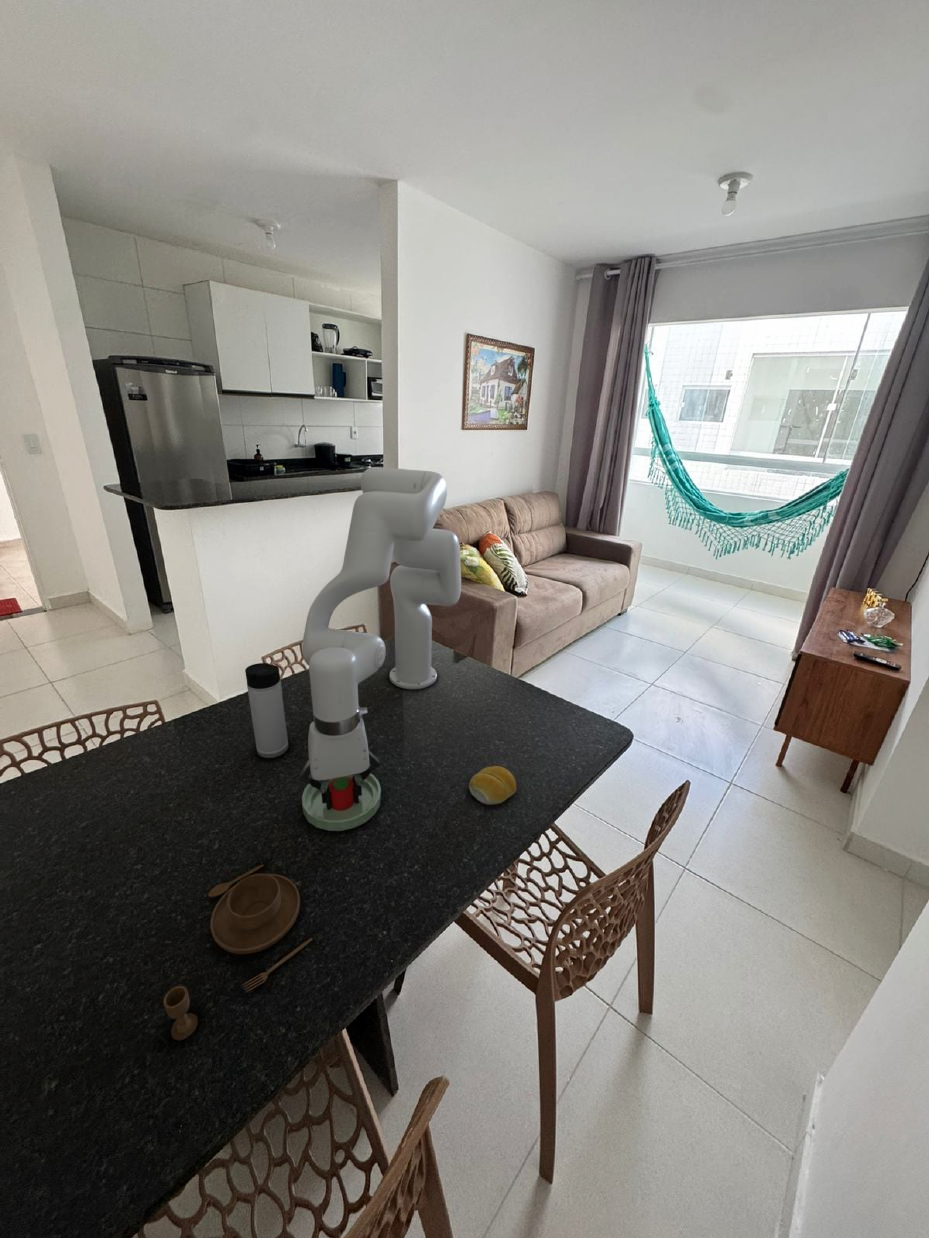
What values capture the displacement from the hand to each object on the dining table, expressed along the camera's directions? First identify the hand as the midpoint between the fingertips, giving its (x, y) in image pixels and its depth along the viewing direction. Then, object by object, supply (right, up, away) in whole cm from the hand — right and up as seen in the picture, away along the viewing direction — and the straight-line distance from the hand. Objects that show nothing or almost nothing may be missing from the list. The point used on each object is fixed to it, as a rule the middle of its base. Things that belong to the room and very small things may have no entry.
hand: (342, 800), depth 94 cm
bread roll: (+28, 0, +5) cm, 29 cm away
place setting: (-10, -11, -23) cm, 28 cm away
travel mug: (-18, +6, +14) cm, 23 cm away
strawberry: (0, 0, 0) cm, 0 cm away
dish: (0, -1, +1) cm, 1 cm away
